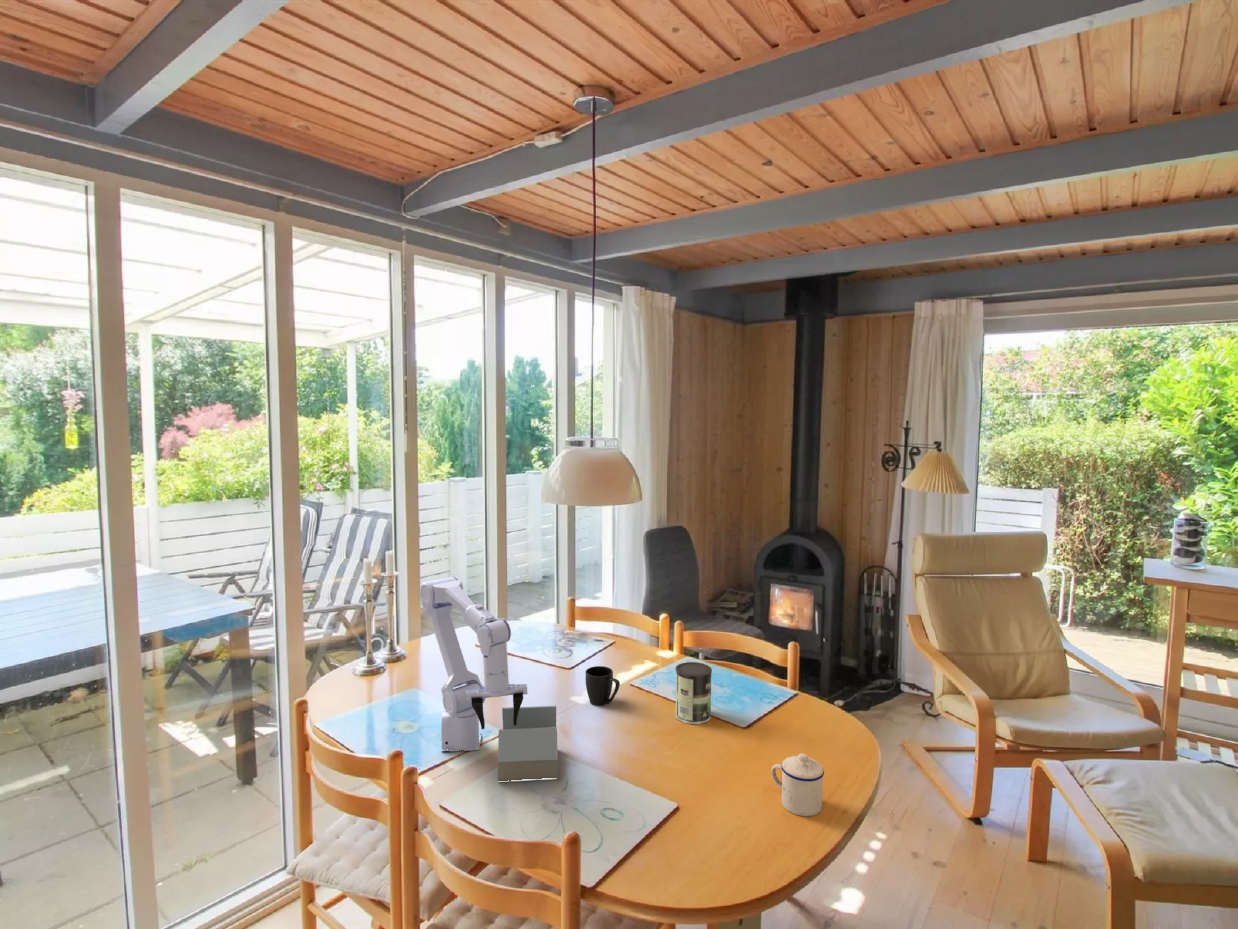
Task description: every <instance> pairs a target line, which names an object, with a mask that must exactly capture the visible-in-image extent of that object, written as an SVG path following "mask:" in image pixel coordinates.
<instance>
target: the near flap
mask: <svg viewBox="0 0 1238 929" xmlns="http://www.w3.org/2000/svg"><path fill="white" fill-rule="evenodd" d="M497 745H498V748H497V749H498V750H497V752H498V755H497V758H498V759H497V763H498V762H511V761H532V760H552V759H557V754H558V728H557V726H556V727H552V728H529V729H506V730H503V729H498V744H497Z"/></svg>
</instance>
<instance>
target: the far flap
mask: <svg viewBox="0 0 1238 929" xmlns="http://www.w3.org/2000/svg"><path fill="white" fill-rule="evenodd" d="M501 708H502V711H501V713H502V716H501V717H502V730H506V729H529V728H552V727H557V705H540V706H539V705H537V706H536V705H535V706H520V709H519V712H518V716H517V725H515V726H514V722H513V715H514V708H513V706H511V707H501Z"/></svg>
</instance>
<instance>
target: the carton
mask: <svg viewBox="0 0 1238 929" xmlns="http://www.w3.org/2000/svg"><path fill="white" fill-rule="evenodd" d="M558 757H559V756H558V753H557V759H552V760H532V761H511V762H498V761H497V782H498V781H508V780H509V781H511V780H522V779H542V778H558V779H559V776H558V769H559V768H558V762H559V759H558Z"/></svg>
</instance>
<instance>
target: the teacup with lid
mask: <svg viewBox="0 0 1238 929" xmlns="http://www.w3.org/2000/svg"><path fill="white" fill-rule="evenodd" d="M776 769H779V770H781V771H782V776H781V777H782V779H781V780H780V779H779V777H778V776H777V773H776ZM770 772H771V773H770V774H771V777H772V778H771V779H772V780H773V782H774V783H775V785H777V786H778V787H780V788H781V804H782V806H783V808H785V809H786V810H787V811H789V813H792V814H794V815H796V816H799V817H800V816H801V817H812V816H816V815H817V814H819V813H820V812H821V811H822V806H823V805H822V804H823V780H824V779H823V778H824V777H823V776H824V774H825V771H824V767H823V766H822V764H821V763H820V762H819V761H817V760H816V759H814V758H811V757H809V756H808V754H806V753H803V752H801V753H799V754H798V755H791V756H788V757H786V758H785V759H783V761H782V763H781V764H780V763H776V764H774V765H773V766H772V767H771V769H770Z"/></svg>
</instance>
